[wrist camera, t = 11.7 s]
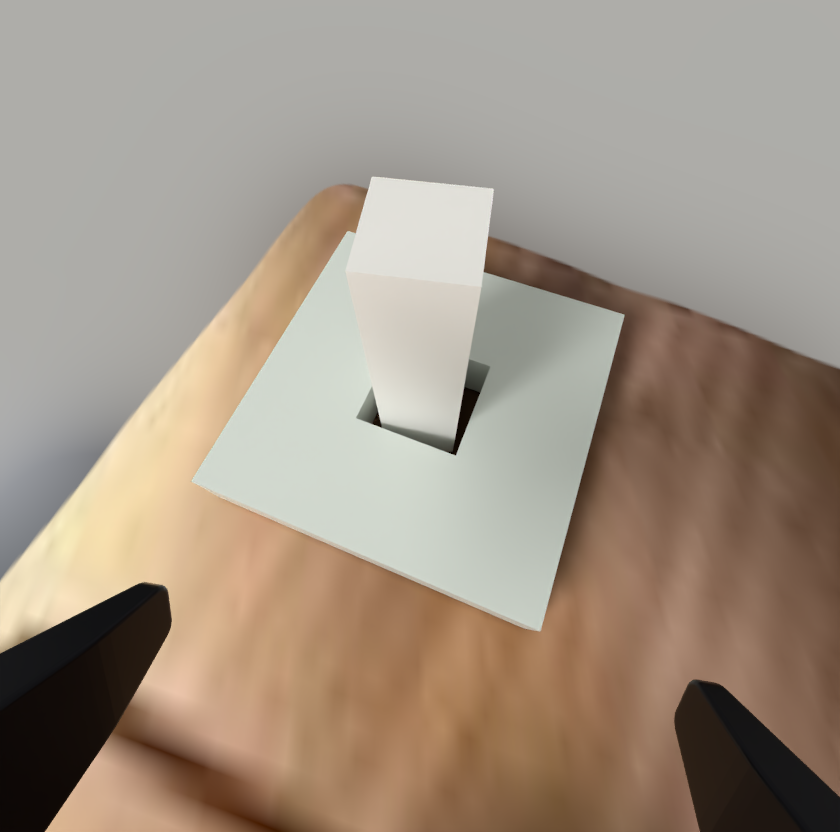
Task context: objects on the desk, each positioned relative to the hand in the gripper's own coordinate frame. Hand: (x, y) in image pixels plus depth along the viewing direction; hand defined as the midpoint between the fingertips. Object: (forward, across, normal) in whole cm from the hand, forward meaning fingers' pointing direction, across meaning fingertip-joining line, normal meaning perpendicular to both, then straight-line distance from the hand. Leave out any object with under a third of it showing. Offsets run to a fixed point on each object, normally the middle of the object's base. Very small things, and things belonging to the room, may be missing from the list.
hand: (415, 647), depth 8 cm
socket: (+17, +1, +2) cm, 17 cm away
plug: (+17, +2, +2) cm, 17 cm away
